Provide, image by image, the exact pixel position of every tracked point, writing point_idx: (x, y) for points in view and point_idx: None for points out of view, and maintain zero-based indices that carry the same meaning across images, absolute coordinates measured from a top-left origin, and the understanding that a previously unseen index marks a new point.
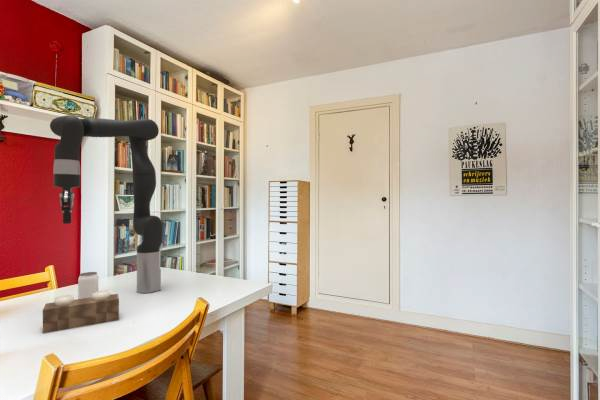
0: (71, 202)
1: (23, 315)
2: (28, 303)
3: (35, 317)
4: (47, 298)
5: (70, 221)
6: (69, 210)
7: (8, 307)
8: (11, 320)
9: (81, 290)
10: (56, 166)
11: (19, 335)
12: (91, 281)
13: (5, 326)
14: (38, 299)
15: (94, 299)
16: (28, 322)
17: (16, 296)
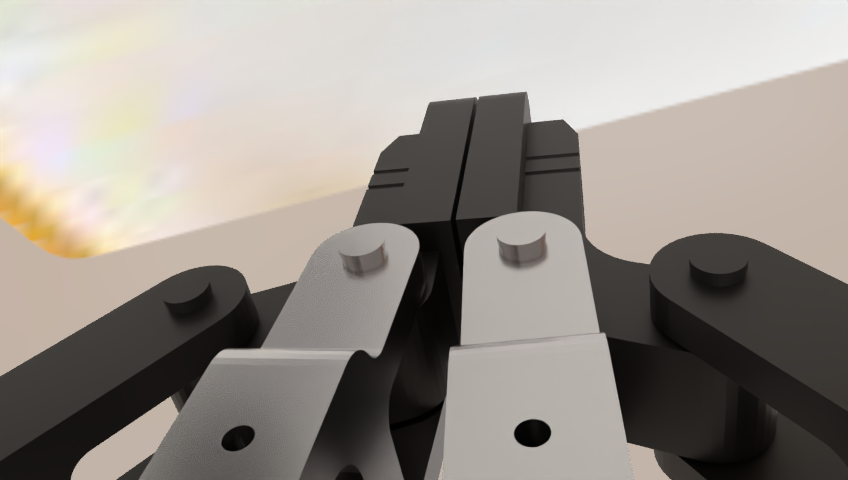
0: (627, 458)
1: (422, 99)
2: (188, 137)
3: (490, 27)
4: (101, 65)
5: (528, 106)
6: (753, 268)
7: (242, 206)
8: None
9: None
10: None
11: (795, 19)
12: None
13: (587, 127)
14: (115, 108)
15: None
16: (573, 38)
17: (37, 228)
